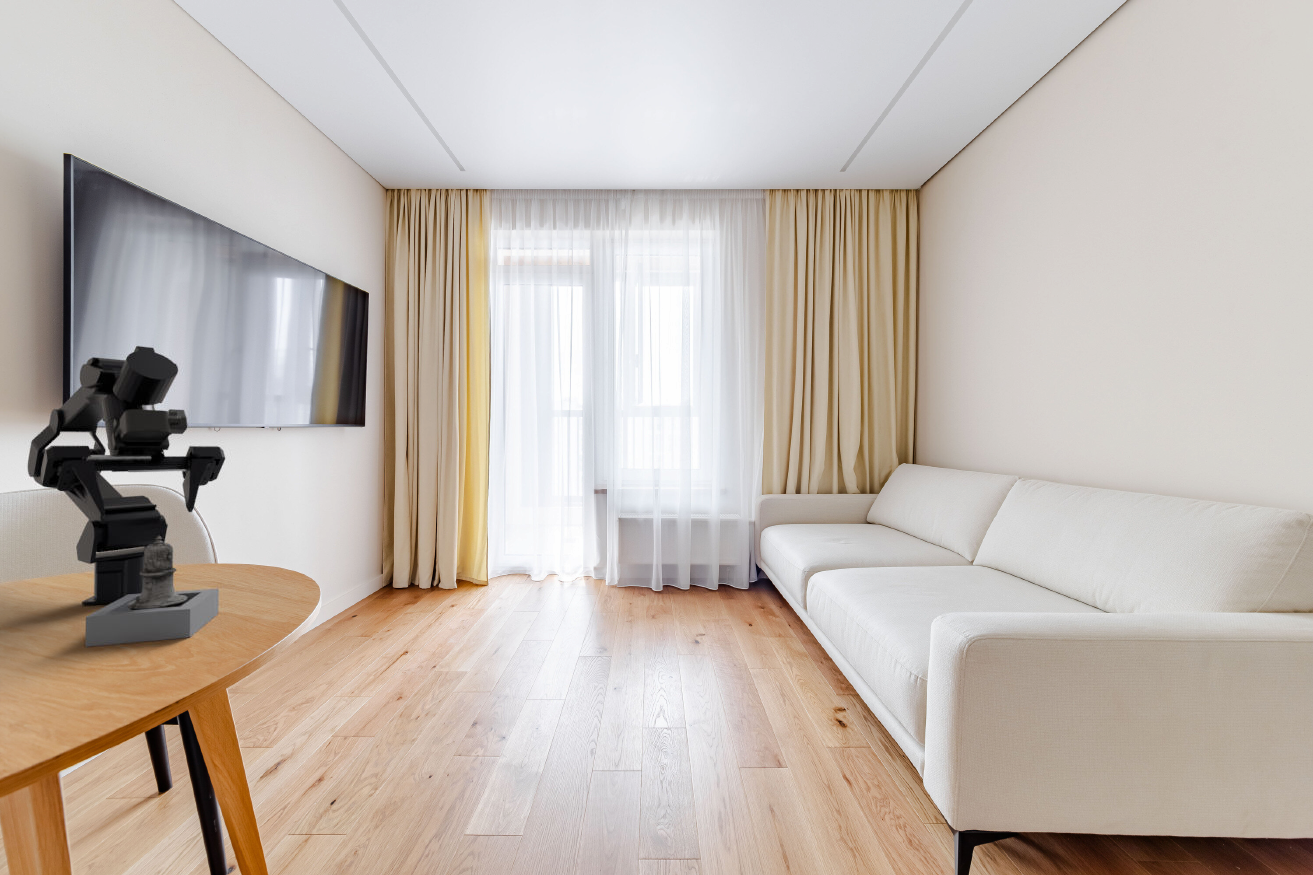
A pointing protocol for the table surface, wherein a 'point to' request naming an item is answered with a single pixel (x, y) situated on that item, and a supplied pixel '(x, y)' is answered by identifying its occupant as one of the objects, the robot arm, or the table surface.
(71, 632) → the table surface
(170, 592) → the salt shaker
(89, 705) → the table surface
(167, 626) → the socket block
